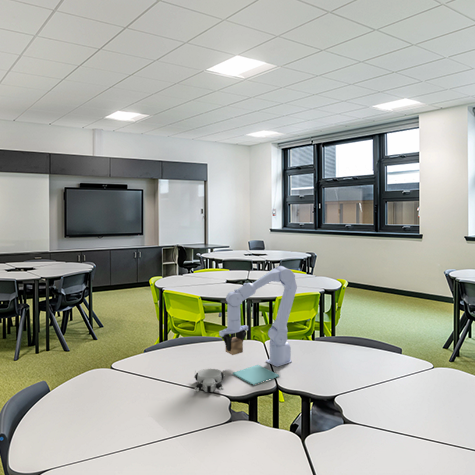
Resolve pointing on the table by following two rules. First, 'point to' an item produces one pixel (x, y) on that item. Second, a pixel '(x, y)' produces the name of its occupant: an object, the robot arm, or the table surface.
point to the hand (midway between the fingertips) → (234, 348)
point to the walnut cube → (236, 346)
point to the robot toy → (209, 379)
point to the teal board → (255, 374)
